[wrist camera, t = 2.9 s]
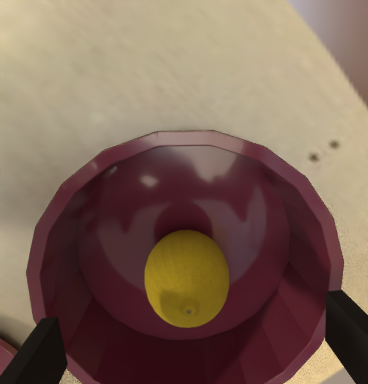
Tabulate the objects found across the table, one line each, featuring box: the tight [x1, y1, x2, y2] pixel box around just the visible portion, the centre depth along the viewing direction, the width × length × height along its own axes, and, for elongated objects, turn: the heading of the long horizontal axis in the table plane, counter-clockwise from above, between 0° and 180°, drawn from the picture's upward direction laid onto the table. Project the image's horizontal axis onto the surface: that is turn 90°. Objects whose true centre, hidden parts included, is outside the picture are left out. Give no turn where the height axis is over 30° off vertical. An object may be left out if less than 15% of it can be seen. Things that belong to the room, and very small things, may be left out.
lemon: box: [145, 230, 229, 328], centre depth 18 cm, size 6×6×8 cm
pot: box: [26, 130, 344, 384], centre depth 20 cm, size 19×19×6 cm
